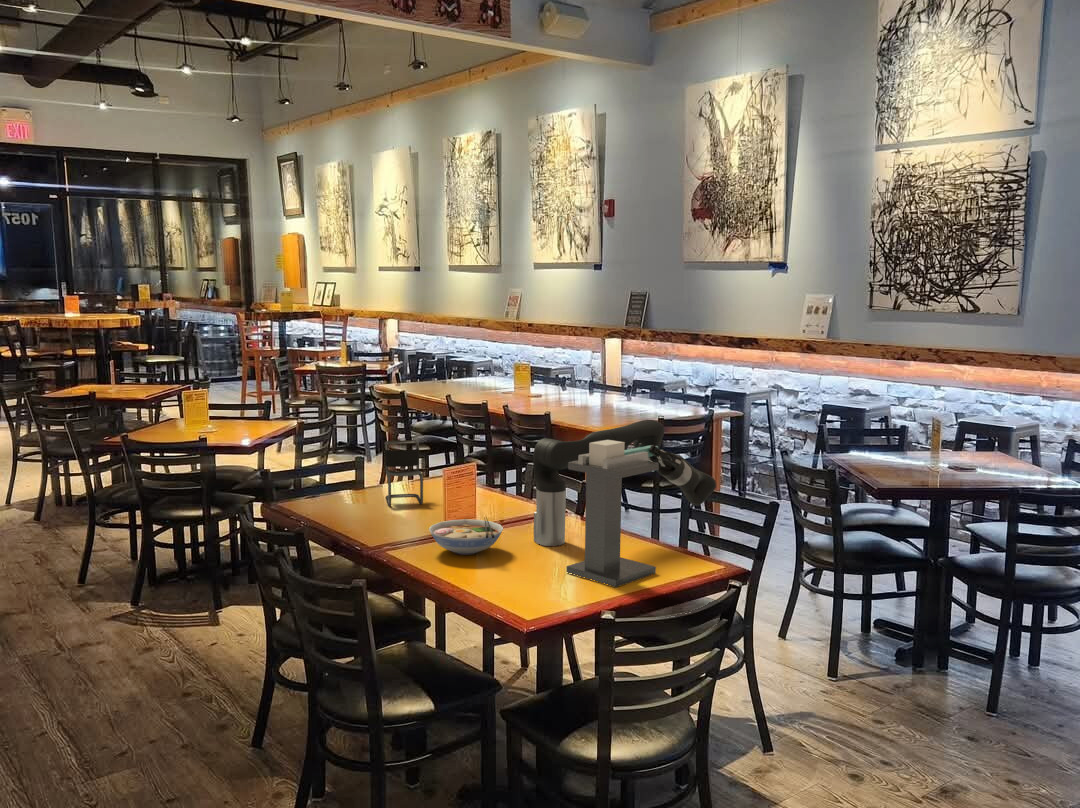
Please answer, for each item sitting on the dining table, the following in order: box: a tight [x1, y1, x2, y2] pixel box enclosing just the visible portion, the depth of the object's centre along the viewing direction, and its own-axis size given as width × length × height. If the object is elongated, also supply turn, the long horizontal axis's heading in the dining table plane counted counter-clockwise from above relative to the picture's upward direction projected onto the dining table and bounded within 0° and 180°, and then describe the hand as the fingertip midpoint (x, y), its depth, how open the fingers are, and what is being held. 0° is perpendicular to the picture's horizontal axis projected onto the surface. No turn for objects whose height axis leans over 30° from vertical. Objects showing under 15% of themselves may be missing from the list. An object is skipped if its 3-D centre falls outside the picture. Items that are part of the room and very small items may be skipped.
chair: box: [384, 439, 424, 507], centre depth 346 cm, size 13×17×22 cm
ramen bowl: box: [428, 516, 504, 556], centre depth 280 cm, size 25×23×8 cm
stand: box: [566, 452, 659, 588], centre depth 259 cm, size 18×18×34 cm
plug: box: [589, 440, 658, 467], centre depth 261 cm, size 6×26×6 cm, turn 136°
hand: (645, 447), depth 267 cm, fingers open, 3 cm apart
